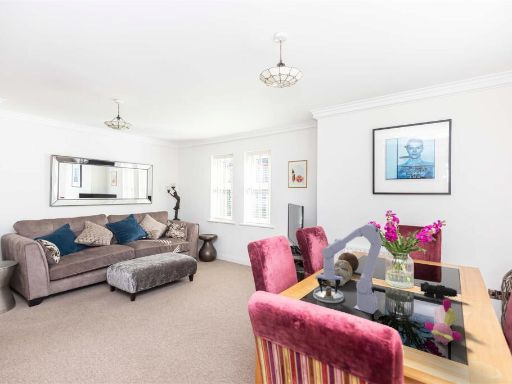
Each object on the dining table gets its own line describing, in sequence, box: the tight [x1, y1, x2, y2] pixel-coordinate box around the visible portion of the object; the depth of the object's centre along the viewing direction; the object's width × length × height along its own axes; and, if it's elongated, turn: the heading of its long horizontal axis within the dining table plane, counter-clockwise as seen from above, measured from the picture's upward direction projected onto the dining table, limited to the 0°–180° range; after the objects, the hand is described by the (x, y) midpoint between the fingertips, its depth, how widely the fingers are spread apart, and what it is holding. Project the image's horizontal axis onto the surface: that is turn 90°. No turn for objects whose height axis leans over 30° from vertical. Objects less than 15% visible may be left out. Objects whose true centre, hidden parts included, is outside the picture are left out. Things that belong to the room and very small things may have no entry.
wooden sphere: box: [337, 251, 360, 273], centre depth 198 cm, size 15×15×15 cm
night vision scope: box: [419, 281, 458, 300], centre depth 152 cm, size 8×18×10 cm
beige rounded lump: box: [319, 259, 354, 288], centre depth 175 cm, size 16×15×26 cm
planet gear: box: [324, 285, 333, 299], centre depth 147 cm, size 5×5×6 cm
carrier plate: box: [312, 287, 344, 304], centre depth 152 cm, size 17×17×4 cm
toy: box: [424, 298, 463, 346], centre depth 113 cm, size 12×12×30 cm
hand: (328, 292), depth 148 cm, fingers open, 7 cm apart
